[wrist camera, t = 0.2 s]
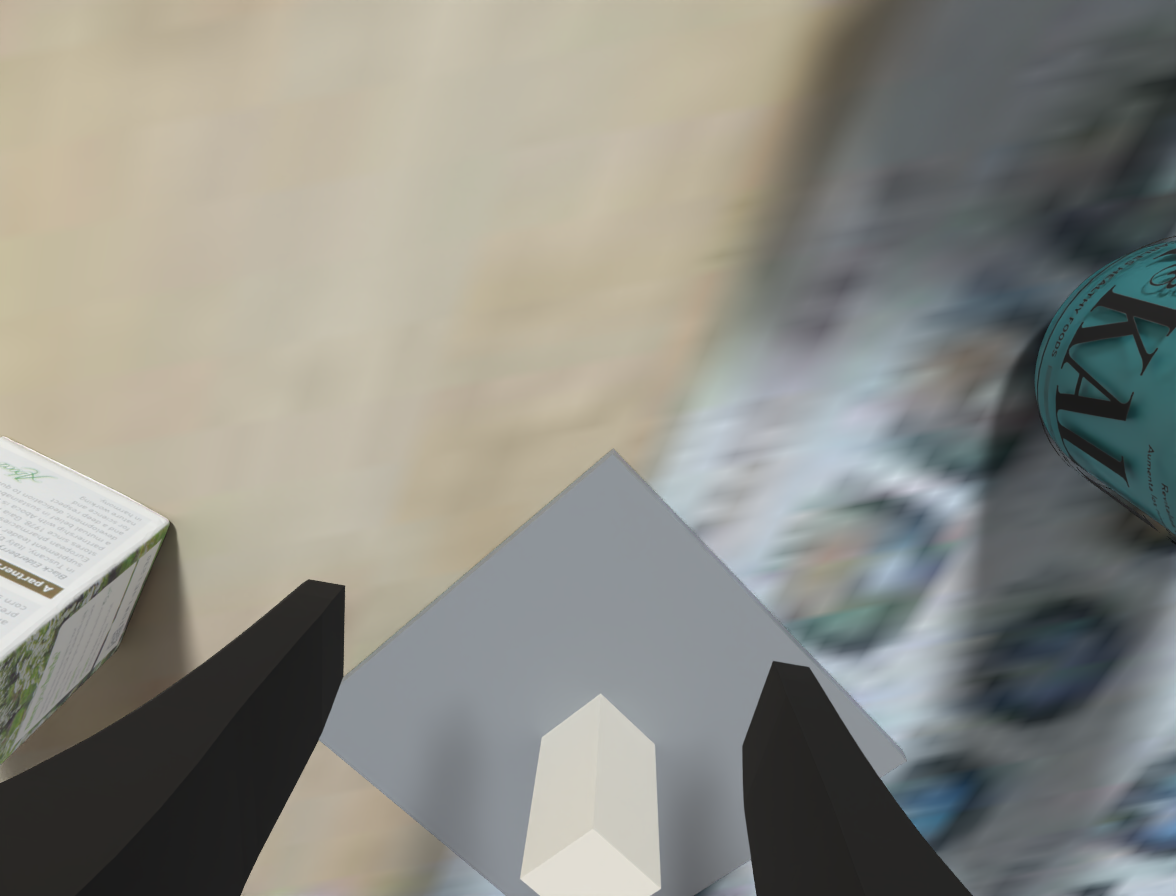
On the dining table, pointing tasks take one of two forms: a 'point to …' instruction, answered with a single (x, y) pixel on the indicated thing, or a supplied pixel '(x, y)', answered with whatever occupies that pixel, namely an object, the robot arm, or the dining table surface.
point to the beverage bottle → (1118, 380)
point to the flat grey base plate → (581, 702)
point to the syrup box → (62, 582)
